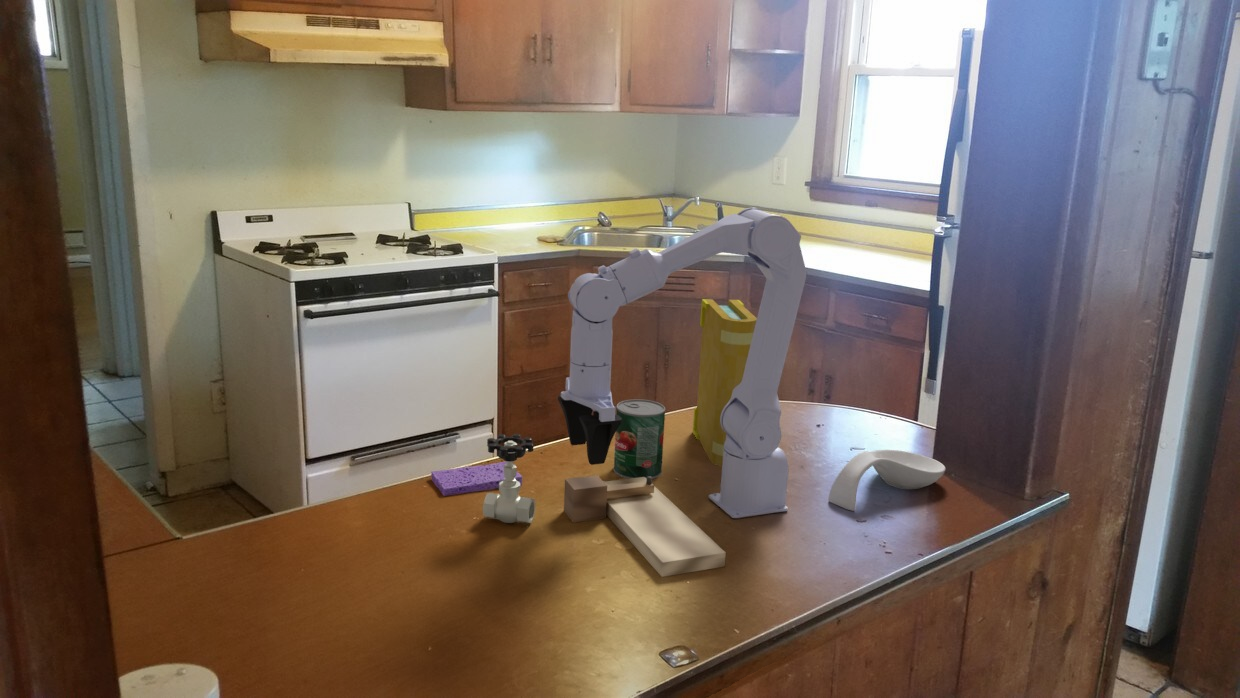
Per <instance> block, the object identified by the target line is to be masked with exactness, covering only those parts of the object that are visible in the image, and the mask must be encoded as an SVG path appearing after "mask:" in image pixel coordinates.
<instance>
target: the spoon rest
mask: <svg viewBox="0 0 1240 698" xmlns="http://www.w3.org/2000/svg"><path fill="white" fill-rule="evenodd" d="M871 467H873V468H874V470H875V472H876V474H878V475H879V477H881V479H882V480H883V481H884V482H885V483H886V484H887V485H889V486H892V487H894V488H898V489H903V490H919V489H921V488H925V487H927V486H930V485H932V484H934V483H936V482H937V481H938V480H939V479H941V477H942V476H943V475H944V474H945V472H946V466H945V465H944V464H943V463H941V462H940V461H938V460H936V459H934V458H931V457H929V456H926V455H922V454H920V453H915V452H909V451H905V450H904V451H903V450H898V449H896V450H895V449H879V450H872V451H863V452H860V453H858V454H857V455H854V456H853V457H852V458H851V459H850V460H849V461H848V462H847V463H846V464H845V465H844V466H843V468H842V469H841V470H840V472H839V473H838V475H837V477H836V478H835V480H834V482H833V484H832V486H831V489H830V490H829V494H828V502H830V503H831V504H833V505H836V506H837V507H838V506H839V507H841V508H843V509H845V510H848V511H851V512H852V511H854V512H855V510H856V502H857V492H858V486H859V484H860V481H861V478H862V477H863V476H864V474H865V473H866V472H867V471H868V470H869V469H870V468H871Z"/></svg>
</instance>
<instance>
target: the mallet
mask: <svg viewBox="0 0 1240 698" xmlns="http://www.w3.org/2000/svg"><path fill="white" fill-rule="evenodd" d="M604 482H605V481H604V480H602V479H601V477H600V476H599V475H597V474H595V475H588V476H579V477H570V478H564V493H563V496H564V497H563V499H564V500H563V511H564V513H565V514H566V516H567V517H568V518H569V520H571V522H572V523H578V522H580V523H581V522H587V521H593V520H594V521H595V520H599V519H601V520H602V519H606V518H607V515H606V503H607V499H609V498H617V497H625V496H633V495H641V494H649V493H654V486H655V484H654V483H653V479H652V477H651V476H647V481H646V482H639V483H630V484H622V485H614V486H607V485H606V484H605V483H604Z"/></svg>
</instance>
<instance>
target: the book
mask: <svg viewBox="0 0 1240 698" xmlns="http://www.w3.org/2000/svg"><path fill="white" fill-rule="evenodd" d="M700 307H701V308H700V321H699V322H700V323H699V326H700V327H701V328H702V329H701V330H702V332H701V342H700V343H701V346H700V355H699V357H700V359H699V372H698V373H699V374H698V375H699V376H698V386H697V399H696V400H697V402H696V403H697V404H696V407H694V409H693V421H692V434H693V436H694V435H695V436H694V438H695V437H696V438H695V440H696V439H699V440H700V441H699V440H698V441H699V442H700V444H701V445H702V448H703V447H704V448H703V450H704V449H705V450H704V452H705V451H706V452H705V454H706V453H707V454H706V455H707V458H708V459H709V461H710V463H711V462H712V464H713V465H715V466H717V465H718V467H720V466H721V467H720V468H722V464H723V452H724V443H725V441H726V435H727V433H726V432H724V430H723V429H722V427H721V423H720V416H721V413H722V410H723V409H724V407H725V406H726V405H727V403H728V402H729V400H730V398H731V396H732V392H733V389H734V388H735V387H736V386H738V385H739V384H740V383H741V382H742V378H743V374H744V370H745V366H746V362H747V358H748V353H749V349H750V345H751V341H752V337H753V333H754V329H755V325H756V321H757V317H756V316H755V315H754V314H753V313H751V311H749V310H748V308H746V307H745V304H744V303H743V302H742V301H741V300H740V299H728V304H727V305H719V304H718V303H717V302H716V301H715V300H714V299H713V298H706V299H705V298H702V299H701V306H700Z"/></svg>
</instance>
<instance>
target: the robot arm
mask: <svg viewBox="0 0 1240 698" xmlns="http://www.w3.org/2000/svg"><path fill="white" fill-rule="evenodd" d="M801 239H802V235H801V234H800V232H799V231H798V230H797V229H796V228H795V226H794V225H793V224H792V222H791V221H790V220H789V219H788V218H786V217H785V216H782V215H779V214H772V213H769V212H766V211H764V210H761V208H757V207H747V208H744V209H742V210H740V211H739V212H738V213H732V214H729V215H726V216H724V217H722V218H721V219H719V220H717V221H715V222H714V223H712V224H711V225H708V226H706V227H704V228H702V229H701V230H699V231H697V232H695V233H693V234H691V235H689V236H687V237H685V238H683V239H682V240H680V241H678V242H676V243H673V244H672V245H671V246H669V247H666V248H665V249H663V250H661V251H659V252H656V251H655V250H654V251H653V250H651V249H648V248H645V249H643V250H639V249H638V248H634V249H632V250H629V252H628V255H629V256H627V257H626V258H623V259H622V260H619V261H616V262H615V263H613V264H611V265H609V266H607V267H606V265H604V264H603V265H601V266H599V267H597V271H598V273H591V272H587V273H583V274H581V275H580V276H577V278H576V279H574V282H573V283H572V284H571V286H570V289H569V290H568V292H567V297H568V301H569V303H570V304H571V306H572V308H573V309H572V317H571V322H572V323H571V324H572V325H571V328H570V329H571V330H570V348H569V349H570V352H569V353H570V354H569V355H570V356H569V357H570V358H569V377H566V378H565V391H561V392H560V395H559V396H558V397H557V401H558V403H559V405H560V407H561V409H562V412H563V416H564V419H565V422H566V427H567V429H566V430H567V433H568V437H569V438H568V440H569V443H570V445H571V446H580V445H581V446H582V445H586V453H587V455H586V456H587V460H588V464H590V466H592V465H593V466H594V465H602V464H603V465H604V464H605V462H606V459H607V457H608V452H609V448H610V446H611V443H612V440H613V438H614V436H615V434H616V431H617V429H618V428H619V426H620V425H621V423H622V418H621V417H620V416H618V415H616V410H617V408H616V406H614V403H613V395H612V391H611V379H612V378H611V376H612V353H613V333H614V330H613V319H614V316H615V315H616V314H617V313H618V311H619V308H620V307H624V306H626V305H628V304H630V303H632V302H634V301H636V300H639V299H640V298H642V297H643V298H644V297H645V296H647V295H649V294H651V293H653V292H656V291H658V290H659V289H661V288H664V287H665V285H666V282H667V280H668V279H669V278H668V277H669V276H670V275H671V274H674V273H675V272H678V271H680V270H683V269H685V268H688V267H690V266H691V265H694V264H697V263H699V262H701V261H704V260H706V259H709V258H711V257H714V256H716V255H718V254H720V253H726V254H732V255H739V256H748V257H749V258H750V259H752V260H753V261H754V263H755V264H756V266H757V268H758V269H759V271H760V272H761V274H763V276H764V277H765V284H764V288H763V289H764V290H763V292H762V296H761V297H762V298H761V300H760V305H759V309H758V313H757V317H756V318H757V321H756V325H755V329H754V333H753V337H752V341H751V345H750V349H749V353H748V358H747V362H746V366H745V370H744V374H743V378H742V382H741V383H740V384H739V385H738V386H736V387H735V388H734V389H733V392H732V396H731V398H730V400H729V402H728V403H727V405H726V406H725V407H724V409H723V410H722V413H721V416H720V423H721V427H722V429H723V430H724V432H726V433H727V435H726V441H725V443H724V452H723V464H722V467H721V479H720V480H721V481H720V490H719V492H717V493H710V494H709V495H708V499H709V500H711V501H712V502H713V503H714V504H716V505H717V506H718V507H720V509H721V510H722V511H724V512H725V513H726V514H727V515H728V516H730V517H731V518H732V519H741V518H746V517H748V518H749V517H753V516H761V515H767V514H775V513H781V512H787V511H788V509H789V507H788V506H787V505H786V501H787V491H788V490H787V489H788V482H789V470H790V469H789V461H788V457H787V455H786V452H785V451H784V450H783V449H782V448H781V447H779V445H780V443H781V442H782V441H781V440H782V430H781V424H780V420H781V416H782V408H781V405H780V404H781V403H780V399H779V396H778V390H779V386H780V382H781V378H782V374H783V370H784V366H785V363H786V359H787V356H788V355H787V354H788V352H789V351H788V350H789V347H790V342H791V339H792V336H793V331H794V326H795V323H796V319H797V314H798V311H799V308H800V304H801V300H802V299H801V298H802V295H803V291H804V287H805V283H806V279H807V268H806V264H805V261H804V257H803V253H802V249H801Z"/></svg>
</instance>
